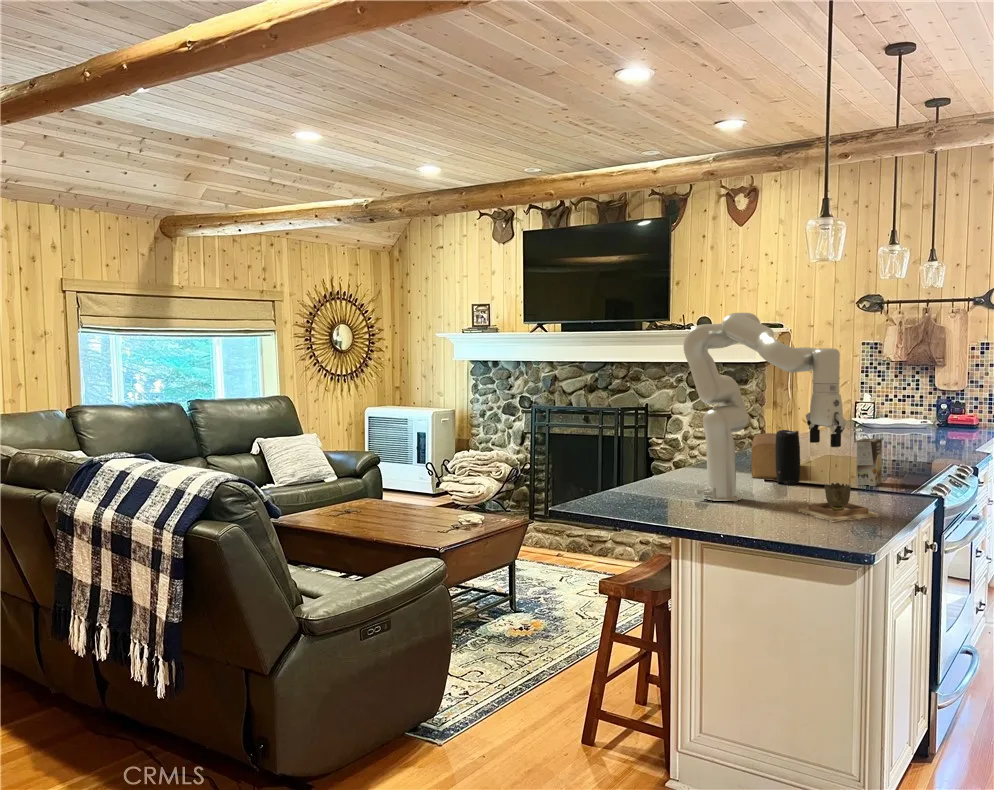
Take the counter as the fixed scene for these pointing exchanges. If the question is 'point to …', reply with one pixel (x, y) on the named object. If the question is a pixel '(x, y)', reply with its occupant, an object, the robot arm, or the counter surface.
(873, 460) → the coffee box
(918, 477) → the counter surface
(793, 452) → the portable speaker
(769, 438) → the bread
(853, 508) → the square wooden tray
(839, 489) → the ornate lamp shade
